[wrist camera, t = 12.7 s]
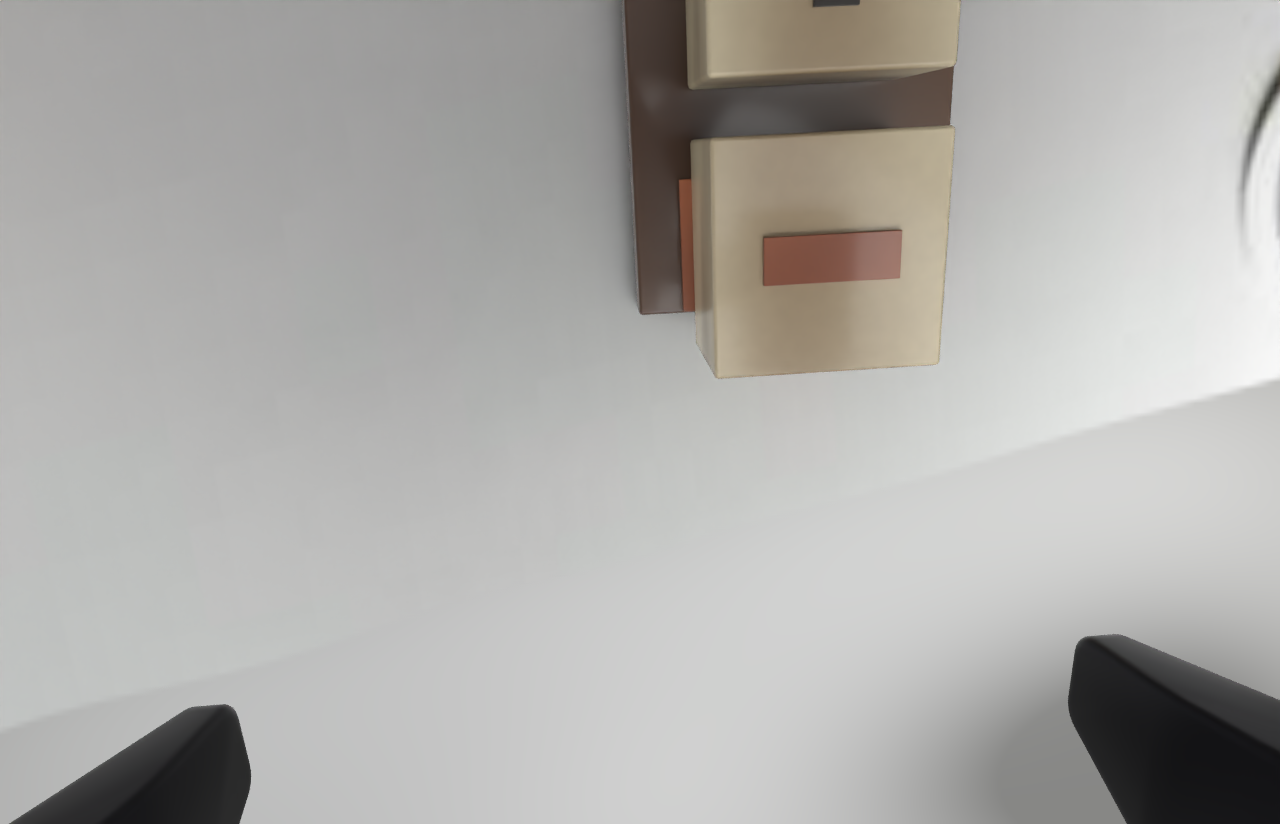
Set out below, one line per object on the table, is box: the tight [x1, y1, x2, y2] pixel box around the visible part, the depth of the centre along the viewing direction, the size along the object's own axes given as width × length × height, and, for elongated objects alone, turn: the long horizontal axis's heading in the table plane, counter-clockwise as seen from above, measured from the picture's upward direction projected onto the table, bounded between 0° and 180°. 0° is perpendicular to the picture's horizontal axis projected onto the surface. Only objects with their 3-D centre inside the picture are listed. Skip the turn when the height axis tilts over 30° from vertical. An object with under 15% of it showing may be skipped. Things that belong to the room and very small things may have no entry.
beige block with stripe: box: [690, 125, 955, 379], centre depth 17 cm, size 4×4×3 cm
